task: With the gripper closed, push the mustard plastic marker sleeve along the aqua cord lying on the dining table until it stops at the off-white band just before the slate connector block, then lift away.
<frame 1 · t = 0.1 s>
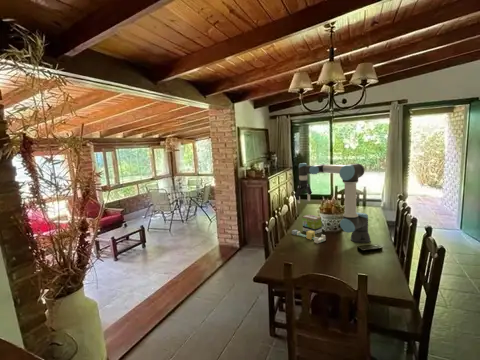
hand: (303, 202, 267), 28 cm above the table, fingers open, 13 cm apart
sleeve: (310, 234, 248), point 3 cm above the table, slide at 0.0 cm
cord: (307, 237, 252), on the table
tea box: (312, 231, 267), on the table
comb: (320, 241, 240), on the table
band: (298, 235, 260), on the table
connector: (295, 233, 263), on the table
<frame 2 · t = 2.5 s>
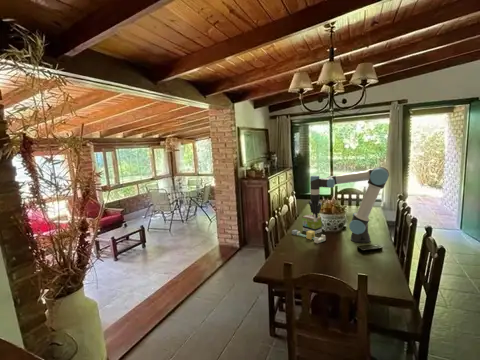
hand: (315, 221, 242), 17 cm above the table, fingers closed
nothing on the table moved.
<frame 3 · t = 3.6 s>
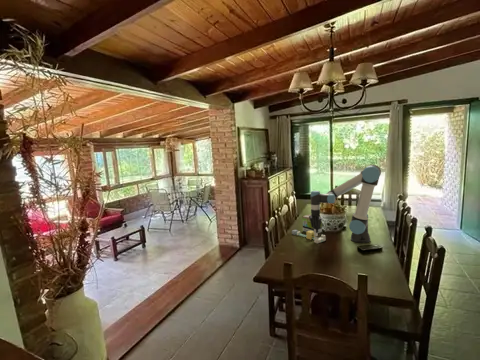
hand: (315, 236, 243), 4 cm above the table, fingers closed
nothing on the table moved.
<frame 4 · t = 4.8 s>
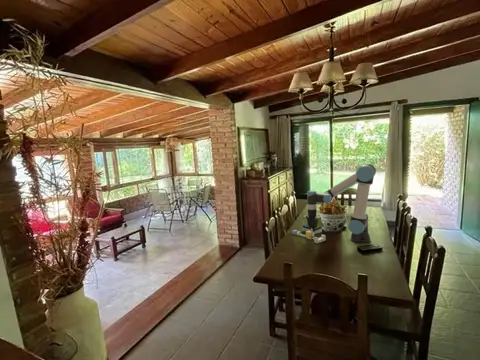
hand: (312, 235, 246), 4 cm above the table, fingers closed
sleeve: (309, 234, 249), point 3 cm above the table, slide at 0.8 cm, touching gripper
everything else where it was.
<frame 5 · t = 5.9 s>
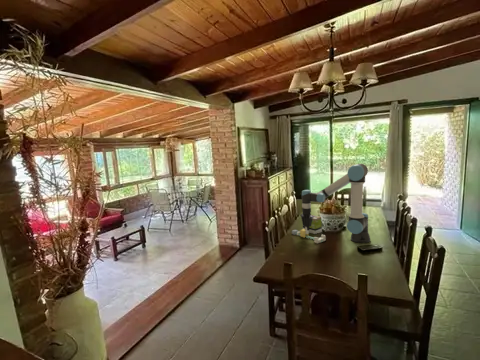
hand: (307, 233, 251), 4 cm above the table, fingers closed
sleeve: (304, 233, 254), point 3 cm above the table, slide at 7.1 cm, touching gripper
everything else where it was.
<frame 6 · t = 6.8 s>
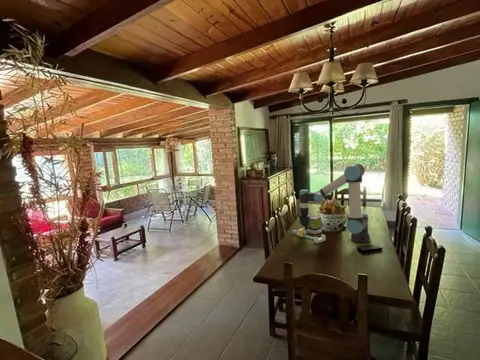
hand: (304, 233, 253), 4 cm above the table, fingers closed
sleeve: (302, 232, 256), point 3 cm above the table, slide at 9.8 cm
everything else where it was.
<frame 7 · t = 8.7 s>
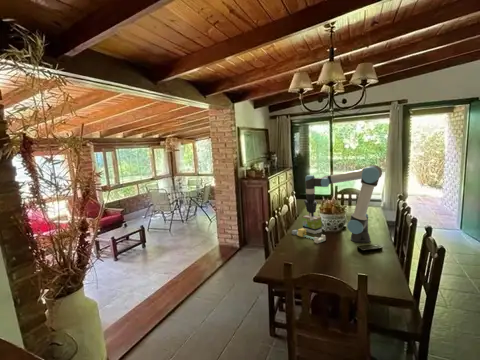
hand: (311, 220, 246), 17 cm above the table, fingers closed
nothing on the table moved.
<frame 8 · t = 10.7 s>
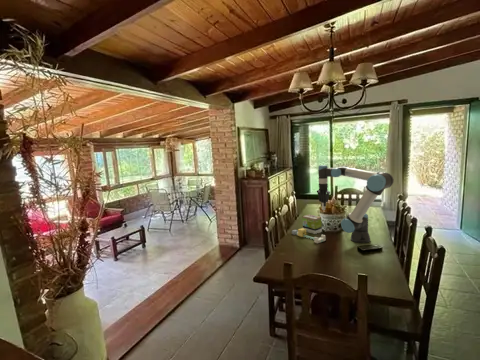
hand: (323, 209, 248), 24 cm above the table, fingers closed
nothing on the table moved.
at the end: sleeve slide at 9.8 cm; the gripper is holding nothing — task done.
